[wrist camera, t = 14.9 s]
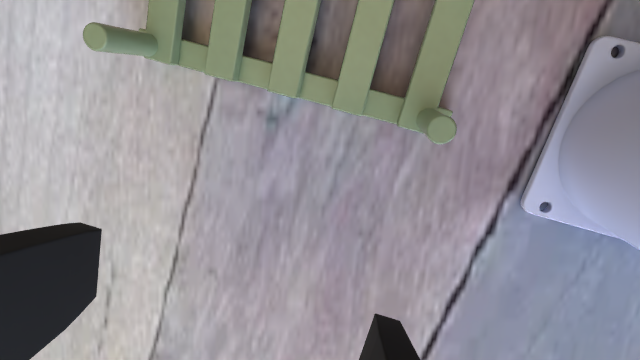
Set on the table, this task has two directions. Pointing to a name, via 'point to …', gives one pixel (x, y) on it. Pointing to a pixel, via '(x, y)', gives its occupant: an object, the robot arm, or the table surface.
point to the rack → (293, 55)
